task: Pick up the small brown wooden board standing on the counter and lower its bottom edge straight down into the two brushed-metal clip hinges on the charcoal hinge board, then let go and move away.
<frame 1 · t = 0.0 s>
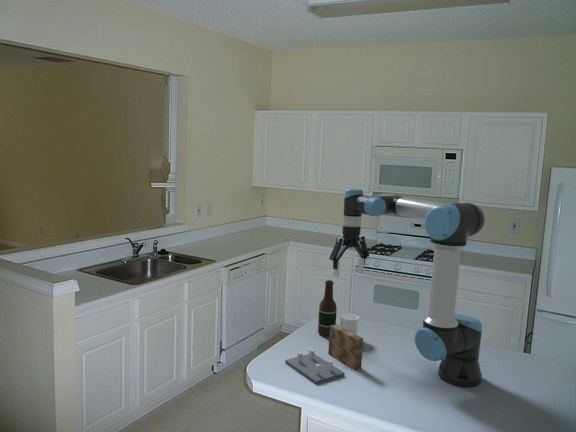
hand: (348, 274, 209), 28 cm above the counter, tool pointing down, fingers open, 13 cm apart
hinge board: (314, 369, 182), on the counter
white cup: (348, 339, 212), on the counter
brown wooden board: (344, 361, 190), on the counter
beer bottle: (326, 334, 216), on the counter
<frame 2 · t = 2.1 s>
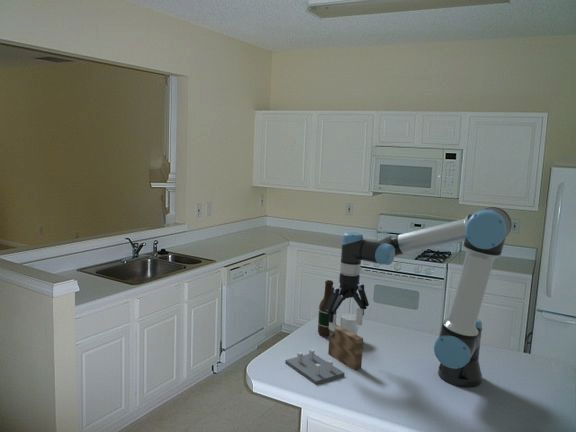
hand: (345, 327, 188), 14 cm above the counter, tool pointing down, fingers open, 13 cm apart
nothing on the counter moved.
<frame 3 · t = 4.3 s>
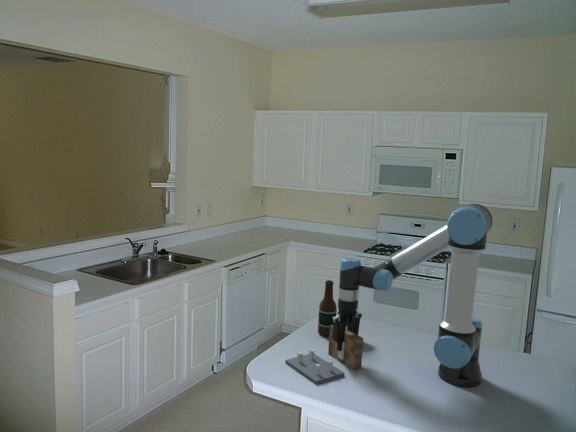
hand: (344, 357, 189), 2 cm above the counter, tool pointing down, fingers closed on brown wooden board, 3 cm apart
brown wooden board: (344, 361, 190), on the counter, touching gripper
everything else where it was.
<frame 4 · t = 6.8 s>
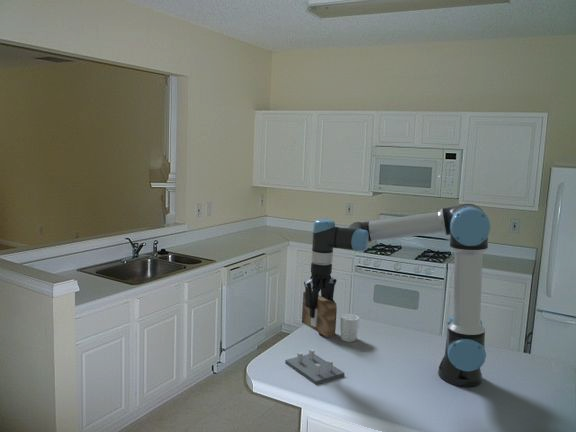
hand: (317, 324, 180), 17 cm above the counter, tool pointing down, fingers closed on brown wooden board, 3 cm apart
brown wooden board: (317, 329, 180), point 15 cm above the counter, touching gripper
everything else where it was.
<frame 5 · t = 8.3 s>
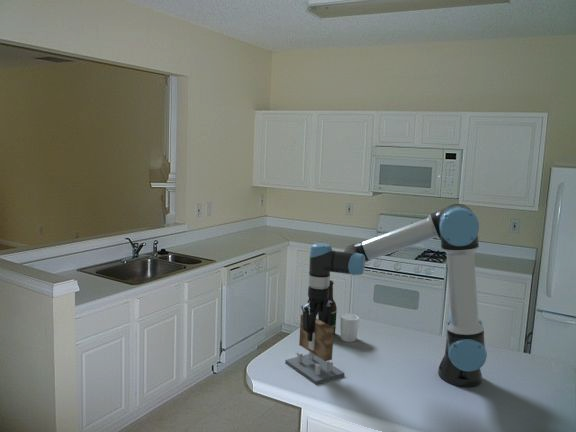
hand: (315, 347, 180), 8 cm above the counter, tool pointing down, fingers closed on brown wooden board, 3 cm apart
brown wooden board: (315, 352, 181), point 7 cm above the counter, touching gripper
everything else where it was.
when the fingers open (4 cm above the counter, at t = 9.7 s): brown wooden board drops 1 cm, resting on hinge board.
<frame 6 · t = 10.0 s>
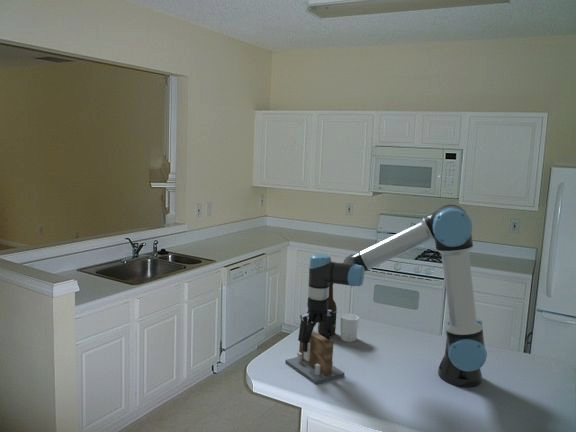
hand: (314, 357, 181), 5 cm above the counter, tool pointing down, fingers open, 7 cm apart
brown wooden board: (314, 366, 181), point 1 cm above the counter, touching hinge board
everything else where it was.
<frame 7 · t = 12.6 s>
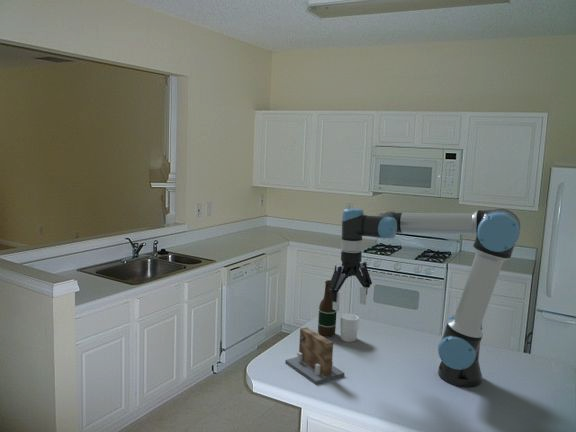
hand: (349, 306, 183), 23 cm above the counter, tool pointing down, fingers open, 13 cm apart
nothing on the counter moved.
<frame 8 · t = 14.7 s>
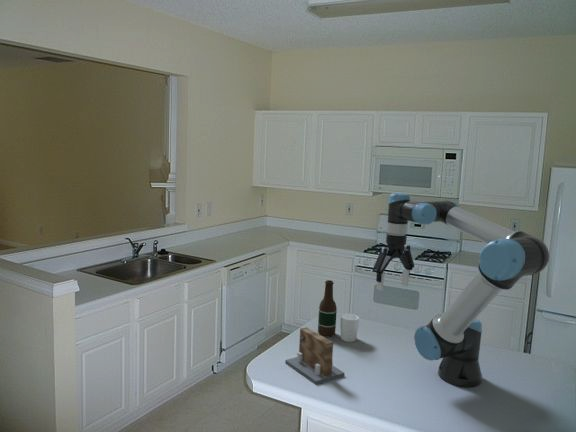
hand: (392, 287, 190), 29 cm above the counter, tool pointing down, fingers open, 13 cm apart
nothing on the counter moved.
at the end: brown wooden board 0.1 cm off-centre on the hinge board, point 1.2 cm above the hinge board's base; brown wooden board tilted 0°; the gripper is holding nothing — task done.
